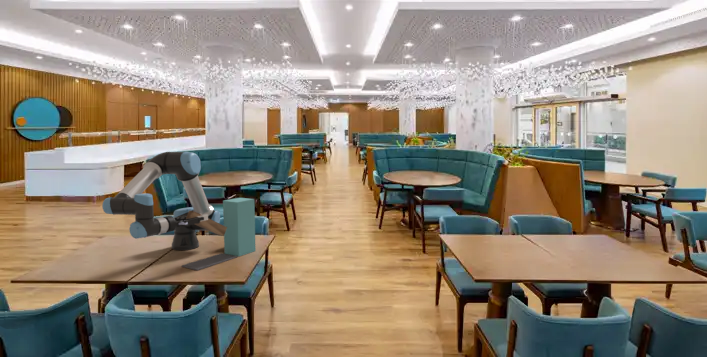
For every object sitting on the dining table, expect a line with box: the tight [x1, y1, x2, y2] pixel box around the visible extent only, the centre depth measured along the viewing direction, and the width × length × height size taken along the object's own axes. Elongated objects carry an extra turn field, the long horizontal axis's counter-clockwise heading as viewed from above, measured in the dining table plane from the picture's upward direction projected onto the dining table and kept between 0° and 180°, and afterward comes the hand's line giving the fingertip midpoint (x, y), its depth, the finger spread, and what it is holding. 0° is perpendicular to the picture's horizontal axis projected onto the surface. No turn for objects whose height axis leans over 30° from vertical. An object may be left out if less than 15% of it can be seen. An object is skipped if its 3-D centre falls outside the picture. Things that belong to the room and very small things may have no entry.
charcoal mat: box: [181, 252, 238, 271], centre depth 231 cm, size 12×26×1 cm, turn 149°
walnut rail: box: [186, 211, 227, 237], centre depth 228 cm, size 4×24×5 cm, turn 149°
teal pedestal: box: [222, 197, 257, 257], centre depth 248 cm, size 11×13×30 cm
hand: (204, 216), depth 226 cm, fingers closed on walnut rail, 4 cm apart
